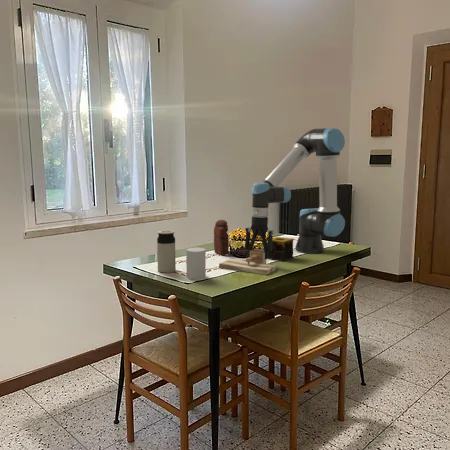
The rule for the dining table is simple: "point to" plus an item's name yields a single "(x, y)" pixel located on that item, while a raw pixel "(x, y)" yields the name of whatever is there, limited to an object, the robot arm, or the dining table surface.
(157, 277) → the dining table surface
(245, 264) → the board
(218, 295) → the dining table surface
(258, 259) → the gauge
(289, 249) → the candle
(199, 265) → the grey cylinder
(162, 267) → the travel mug
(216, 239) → the wooden figurine
